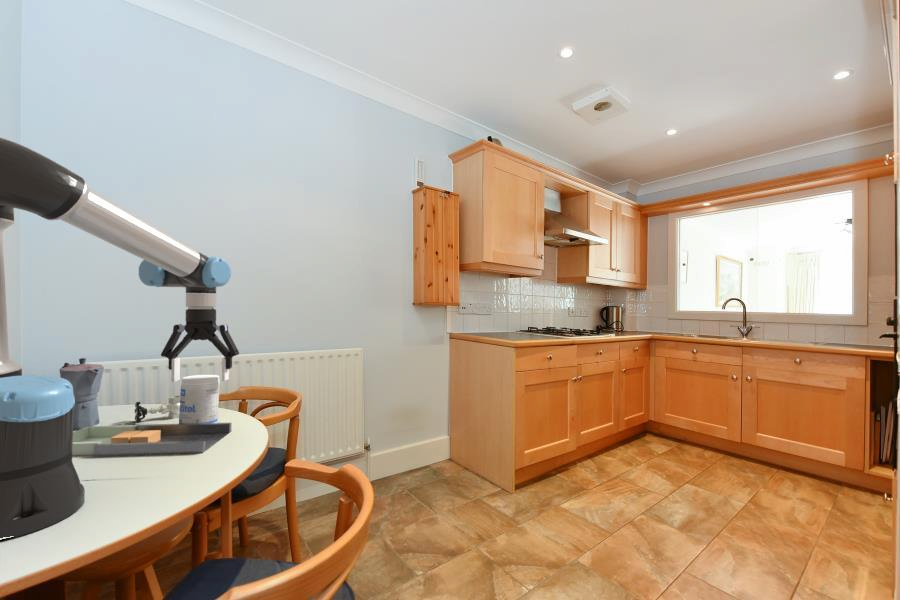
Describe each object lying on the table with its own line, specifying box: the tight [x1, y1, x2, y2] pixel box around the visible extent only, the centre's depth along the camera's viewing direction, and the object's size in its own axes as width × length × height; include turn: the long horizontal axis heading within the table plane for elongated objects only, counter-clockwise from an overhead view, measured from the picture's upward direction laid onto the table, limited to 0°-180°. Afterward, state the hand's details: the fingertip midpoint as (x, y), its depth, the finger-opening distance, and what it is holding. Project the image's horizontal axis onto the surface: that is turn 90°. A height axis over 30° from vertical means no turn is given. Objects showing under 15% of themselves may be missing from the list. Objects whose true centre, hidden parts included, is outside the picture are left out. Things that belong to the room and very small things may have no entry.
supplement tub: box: [178, 374, 221, 424], centre depth 111 cm, size 10×10×15 cm
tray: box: [72, 424, 137, 456], centre depth 96 cm, size 13×12×3 cm
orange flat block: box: [131, 430, 161, 443], centre depth 98 cm, size 5×4×2 cm
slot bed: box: [92, 422, 233, 458], centre depth 98 cm, size 16×24×3 cm, turn 97°
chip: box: [111, 431, 142, 443], centre depth 97 cm, size 5×4×2 cm
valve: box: [134, 394, 180, 424], centre depth 118 cm, size 7×7×12 cm
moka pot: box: [59, 357, 105, 432], centre depth 111 cm, size 10×15×20 cm, turn 78°
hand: (200, 380), depth 111 cm, fingers open, 13 cm apart
